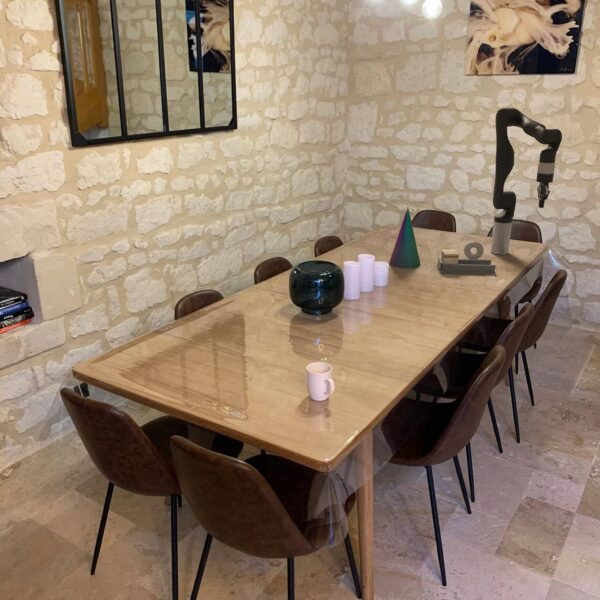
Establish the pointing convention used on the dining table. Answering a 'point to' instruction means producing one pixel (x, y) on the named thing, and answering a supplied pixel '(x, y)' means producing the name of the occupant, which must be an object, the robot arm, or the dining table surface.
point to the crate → (450, 256)
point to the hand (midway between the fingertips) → (541, 207)
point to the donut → (475, 245)
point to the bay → (467, 267)
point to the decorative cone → (405, 246)
